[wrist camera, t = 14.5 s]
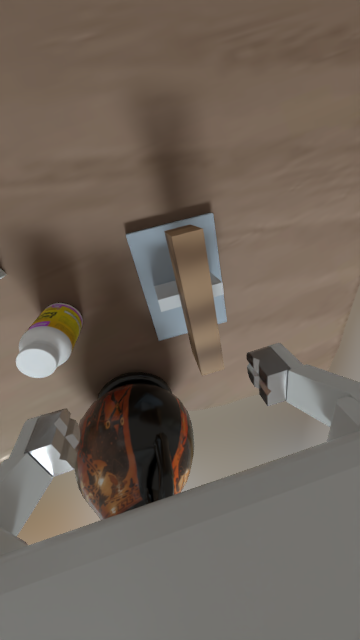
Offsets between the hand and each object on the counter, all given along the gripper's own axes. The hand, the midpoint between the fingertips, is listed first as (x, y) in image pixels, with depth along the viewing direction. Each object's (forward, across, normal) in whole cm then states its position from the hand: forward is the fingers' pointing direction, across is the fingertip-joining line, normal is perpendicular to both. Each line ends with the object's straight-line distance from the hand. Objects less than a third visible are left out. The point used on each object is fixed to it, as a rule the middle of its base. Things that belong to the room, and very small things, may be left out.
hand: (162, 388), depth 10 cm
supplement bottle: (+31, +16, +9) cm, 36 cm away
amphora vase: (+30, +10, +32) cm, 45 cm away
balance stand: (+31, -6, +8) cm, 33 cm away
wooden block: (+23, -6, +8) cm, 25 cm away
